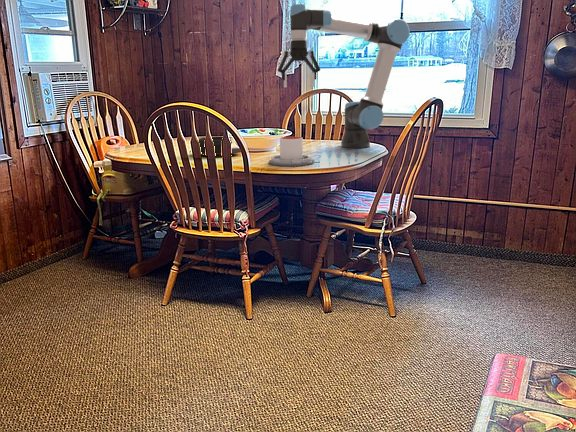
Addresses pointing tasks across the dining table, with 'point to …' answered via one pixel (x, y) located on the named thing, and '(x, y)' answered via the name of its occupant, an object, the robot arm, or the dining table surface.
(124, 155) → the dining table surface
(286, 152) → the cup
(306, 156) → the ring collar
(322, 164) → the dining table surface
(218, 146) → the casserole
